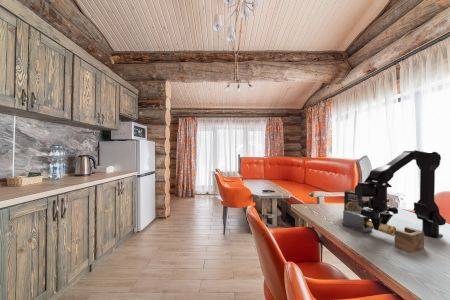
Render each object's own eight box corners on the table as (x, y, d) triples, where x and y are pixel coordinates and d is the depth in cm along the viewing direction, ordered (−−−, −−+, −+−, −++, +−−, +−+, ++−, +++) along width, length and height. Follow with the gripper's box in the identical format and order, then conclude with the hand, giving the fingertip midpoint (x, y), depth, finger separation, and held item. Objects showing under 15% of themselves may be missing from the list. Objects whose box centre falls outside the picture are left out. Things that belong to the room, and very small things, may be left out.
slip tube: (353, 220, 111) (353, 212, 111) (396, 235, 93) (396, 226, 93) (348, 221, 110) (348, 214, 110) (390, 236, 91) (390, 227, 91)
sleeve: (351, 223, 114) (351, 209, 114) (372, 230, 104) (372, 215, 104) (343, 225, 111) (343, 210, 111) (363, 233, 101) (363, 217, 101)
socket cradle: (406, 242, 91) (406, 226, 91) (424, 248, 86) (424, 231, 86) (394, 246, 88) (394, 230, 88) (411, 252, 82) (411, 235, 82)
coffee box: (343, 218, 121) (343, 191, 121) (346, 215, 126) (346, 189, 126) (361, 222, 115) (362, 193, 115) (364, 219, 120) (364, 191, 120)
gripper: (374, 191, 108) (374, 220, 109) (349, 194, 101) (349, 226, 102) (398, 195, 98) (398, 228, 99) (373, 200, 91) (373, 235, 91)
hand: (379, 229), depth 98 cm, fingers closed on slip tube, 4 cm apart
